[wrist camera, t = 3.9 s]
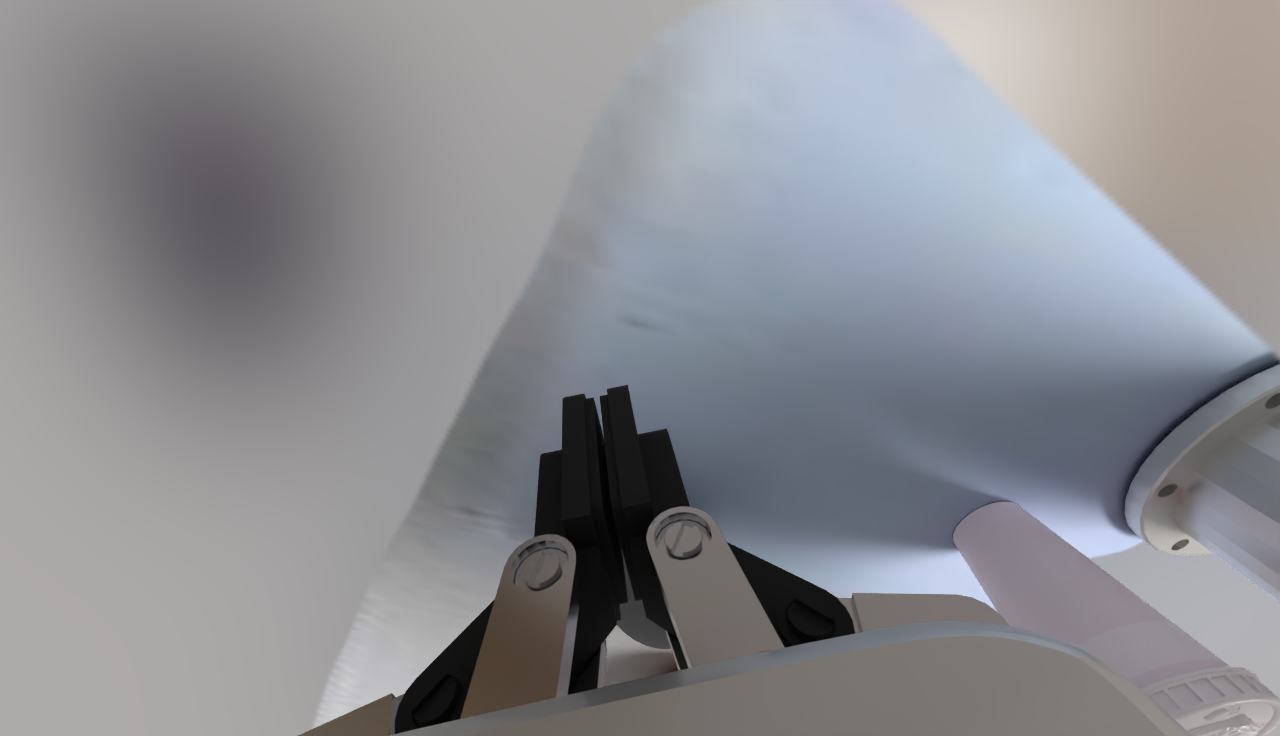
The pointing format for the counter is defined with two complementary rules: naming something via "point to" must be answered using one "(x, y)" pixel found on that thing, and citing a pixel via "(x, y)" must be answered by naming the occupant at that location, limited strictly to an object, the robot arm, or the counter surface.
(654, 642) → the gray ball
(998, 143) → the counter surface
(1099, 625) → the smoothie
